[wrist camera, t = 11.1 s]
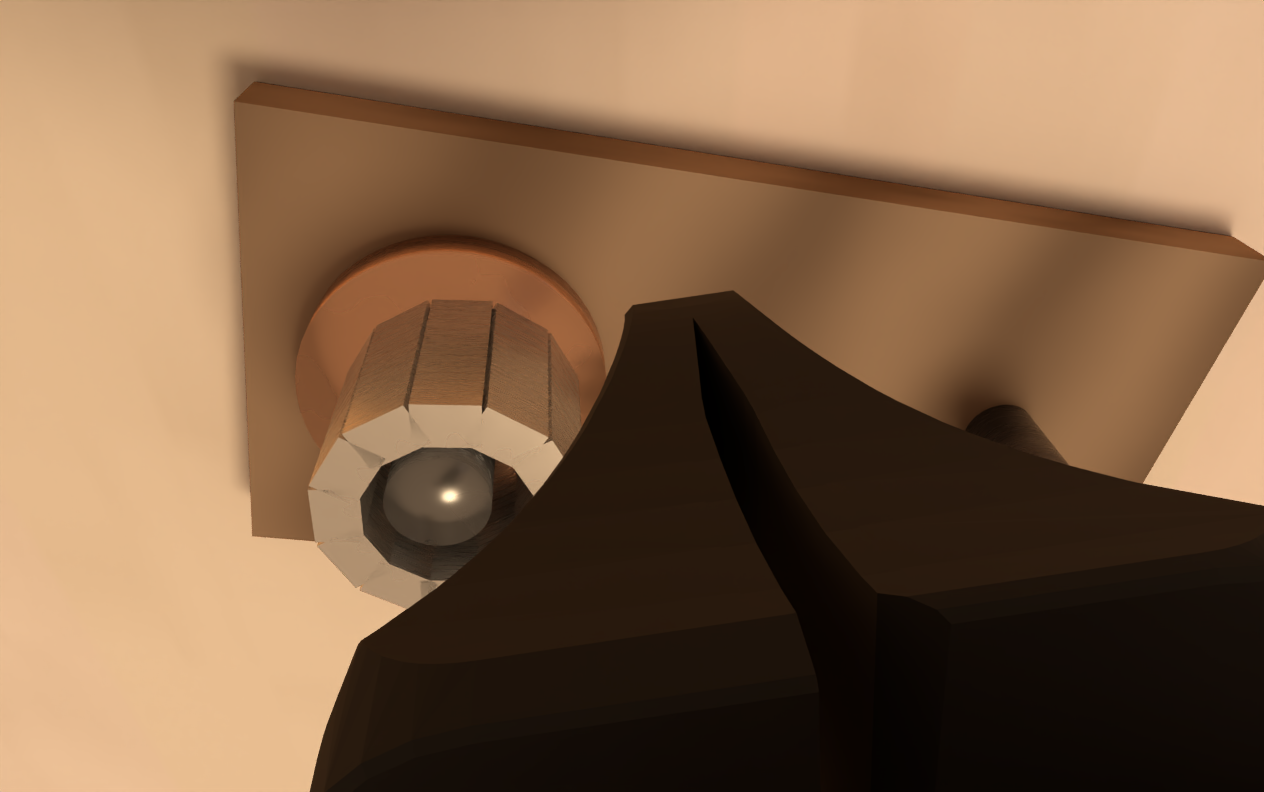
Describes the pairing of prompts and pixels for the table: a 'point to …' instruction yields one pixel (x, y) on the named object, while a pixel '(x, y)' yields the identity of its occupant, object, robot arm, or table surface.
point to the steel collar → (438, 433)
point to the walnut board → (734, 270)
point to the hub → (424, 270)
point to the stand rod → (1014, 431)
